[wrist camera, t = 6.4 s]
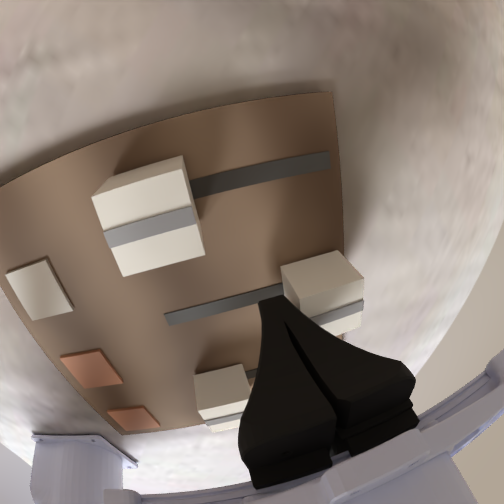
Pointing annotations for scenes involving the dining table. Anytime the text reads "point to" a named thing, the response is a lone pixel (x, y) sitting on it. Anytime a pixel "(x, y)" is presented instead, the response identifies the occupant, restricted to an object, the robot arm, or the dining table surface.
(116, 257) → the slider
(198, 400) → the slider
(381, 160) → the dining table surface
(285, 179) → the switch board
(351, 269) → the slider middle
